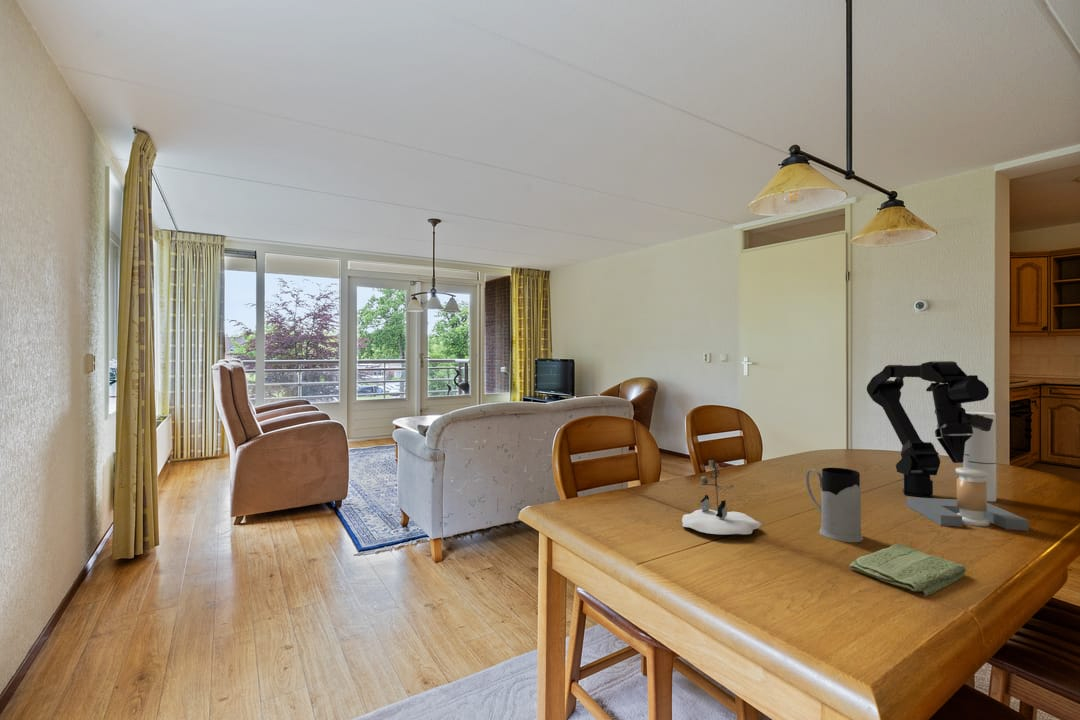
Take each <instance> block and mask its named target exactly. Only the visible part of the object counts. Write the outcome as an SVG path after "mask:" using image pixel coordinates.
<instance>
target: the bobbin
mask: <svg viewBox="0 0 1080 720" xmlns="http://www.w3.org/2000/svg"><path fill="white" fill-rule="evenodd" d="M955 473H956V474H957V475H958V477H957V478H956V500H957V507H959V513H956V514H958V515H960V516H962V524H964V525H968V526H975V527H989V526H990V525H991V522H990V520H989V519H988V518H986V517H984V511H987V503H988V501H987V482H986V481H984V477H987V476H988V472H987V471H985V470H980V469H974V468H963V467H955Z"/></svg>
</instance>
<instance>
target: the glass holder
mask: <svg viewBox="0 0 1080 720" xmlns="http://www.w3.org/2000/svg"><path fill="white" fill-rule="evenodd" d="M812 471H813V472H815V473H816V475H817V477H818V481H819V482H818V483H819V487H820V489H821V493H820V495H821V496H820V498H821V499H820V500H821V501H820V502H821V503H820V504H821V505H819V503H818V502H817V500H816V499H815V497H814V495H813V493H812V490H811V486H810V473H811V472H812ZM860 475H861V473H860V472H859V471H858V470H854V469H850V468H849V469H848V468H844V467H843V468H842V467H823V468H822V469H821V473H820V471H819V470H817V469H814V468H811V469H808V470H807V472H806V474H805V483H806V488H807V491H808V495H809V497H810V499H811V501H812V502H813V504H814V505H815V507H816V508H817V509H818V510H819V513H820V514H821V515H820V517H821V527H820V529H819V531H818V532H819V534H820V535H821V536H823V537H825V538H828V539H830V540H834V541H837V542H844V543H860V542H863V540H864V536H863V535H862V517H861V516H862V501H861V500H862V499H861V498H862V496H861V495H862V491H861V490H862V488H861V486H860V485H861V484H860V483H861V481H860V479H861V476H860Z"/></svg>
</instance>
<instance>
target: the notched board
mask: <svg viewBox="0 0 1080 720" xmlns="http://www.w3.org/2000/svg"><path fill="white" fill-rule="evenodd" d="M906 507H907V508H909V509H911V510H913V511H915V512H916V513H918V514H920V515H922V516H924V517H925V518H927V519H929V520H930V521H932V522H934V523H936V524H938V525H939V526H944V527H945V526H946V527H947V526H948V527H963V523H962V516H960V515H958V514H956V513H959V507H957V498H956V499H955V498H953V499H951V498H935V497H933V498H932V497H931V498H929V497H917V496H914V497H912V496H907V497H906ZM984 517H986V518H988V519H989V520H990V523H992V524H994V525H996V526H998V527H1000V528H1001V529H1002V528H1003V529H1004V530H1010V531H1011V530H1013V531H1026V532H1027V531H1029V526H1030V525H1029V520H1028V519H1027V518H1024V517H1021V516H1020V515H1017V514H1015V513H1012V512H1010V511H1008V510H1005V509H1003V508H1001V507H998V506H997V505H993V504H991V503H989V502H987V511H984Z"/></svg>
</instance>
